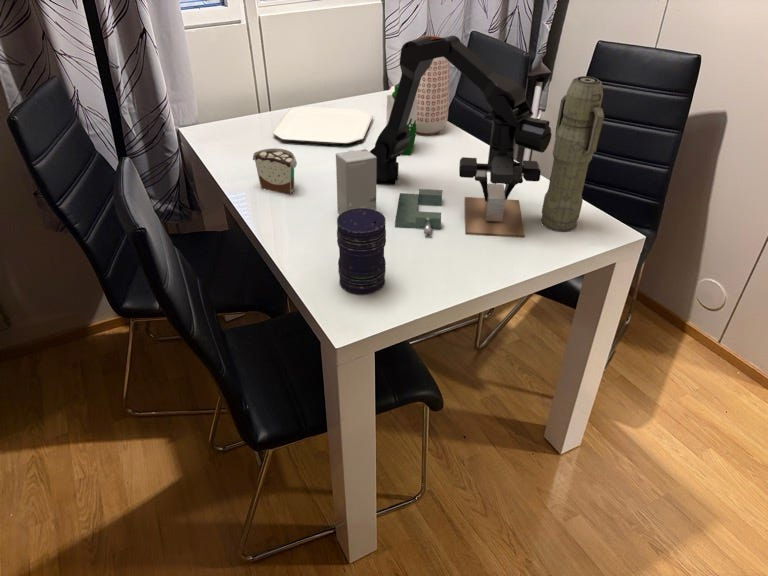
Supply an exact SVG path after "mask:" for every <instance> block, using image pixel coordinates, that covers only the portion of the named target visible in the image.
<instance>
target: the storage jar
mask: <svg viewBox="0 0 768 576" xmlns="http://www.w3.org/2000/svg"><path fill="white" fill-rule="evenodd" d="M386 223H387V222H386V216H385V215H384V214H383V213H382V212H380V211H378V210H377V209H376V210H373V209H367V208H356V209H351V210H347V211H345V212H343V213H341V214H339V215H338V216H337V218H336V225H337V227H336V238H337V239H336V241H337V246H338V250H339V252H338V253H339V257H338V262H337V263H338V264H337V265H338V267H337V268H338V277H339V286H340V287H341V289H342V290H343V291H345V292H347V293H348V294H352V295H358V296H366V295H372V294H375V293H377V292H379V291H381V289H383V288H384V286H385V283H386V282H385V281H386V280H385V279H386V278H385V277H386V268H387V267H386V265H387V263H386V257H385V247H386V243H387V238H386V237H387V229H386Z"/></svg>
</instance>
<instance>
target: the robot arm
mask: <svg viewBox="0 0 768 576" xmlns="http://www.w3.org/2000/svg"><path fill="white" fill-rule="evenodd" d="M427 36H428V35H424V36H420V38H419V37H418V38H414V39H411V40H409V41H407V42H404V43H403V45H402V46H401V50H400V57H399V67H400V72H401V75H400V80H399V82H398V84H399V86H398V89H397V93H396V96H395V100H394V103H393V107H392V110H391V114H390V118H389V121H388V124H387V125H385V127H384V128H383V129H382V131H381V132H380V133H379V135H378V137H377V139H376V141H375V142H374V143H375V144H374V147H373V148H372V149H371V150H369V152H370V153H372V154H373V155H374V156H376V157H377V173H376V185H391V186H393V185H396V183H397V181H398V179H399V172H400V171H399V166H400V165H399V164H400V163H399V162H397V161H398V160H397V159H398V157H401V156H402V155H401V153H402V152H403V151H404V150H405V149H406V148H408V147H409V141H410V139H411V135H410V134H408V133H407V129H406V125H407V122H408V119H409V116H410V112H411V109H412V106H413V103H414V99H415V96H416V93H417V90H418V87H419V83H420V80H421V78H422V76H423V75H424V73H425V72H426V71H427V69H428V68H429V67H430V65H431V63H432V61H433V59H434V58H439V57H444V58H446V59H447V60H448V61H449V62H450V65H452V66H454V68H456V69H457V70H458V71H460V73H462V74H463V75H464V77H466V78H467V79H468V80H469V81H470V82H472V83H473V84H474V86H476V87H477V89H479V90H480V91H481V92H482V94H483V96H484V100H485V102H486V103H487V104H488V106H490V108H491V110H490V111H489V113H488V114H486V115H484V119H485V120H488V121H492V127H491V134H490V140H489V141H490V142H489V150H488V159H487V163H480V162H479V163H478V159H477V157H467V156H466V157H463V156H462V157H461V158H460V159H459V172H458V173H459V175H458V176H459V177H460V178H463V179H464V178H466V179H473V178H474V180H475V181H476V182H479V184H480V185H481V186H480V187H481V188H482V193H483V198H485V201H487V197H488V195H487V184H488V173H490V175H489V176H490V179H489V182H490V184H504V185H505V186H504V191H505V199H506V200H507V199H509V196H510V195H511V192H512V191H513V189H514V188H515V186H517V185H518V184H522V183H524V180H525V181H526V182H540V179H541V173H542V172H541V171H542V170H541V166H540V163H539V162H538V161H537V160H522V161H521V162H517V161H515V159H514V156H515V155H514V154H515V149H516V145H517V147H521V148H524V149H527V150H530V151H531V150H532V151H535V152H538V153H544V152H546V150H547V149H548V147H549V145H550V142H551V140H552V136H553V135H552V129H551V127H550V122H551V121H549V120H546V119H538V118H536V117H535V118H534V117H533V115H534V113H533V111H532V108H531V105H530V104H529V102H528V99H527V95H526V90H525V88H524V86H522V85H521V84H519V83H518V82H516V81H515V80H514V79H512V78H509V77H507V76H503V75H501V74H499V73H497V72H496V71H495V70H493V68H491V67H490V66H489V65H488V64H486V63H485V62H484V61H483V60H482V59H481V58H480V57H478V55H476V54H475V53H474V52H473V51H472V50H471V49H469V48H468V47H467V46H466V45H465V44H464V43H463V42H461V40H460V38H459V37H458V36H456V35H454V34H453V35H448V36H445V37H444V36H443V37H442V38H437V39H430V38H429V37H427ZM517 110H519V111H518V112H517V113H515V111H517Z"/></svg>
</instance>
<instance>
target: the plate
mask: <svg viewBox="0 0 768 576" xmlns="http://www.w3.org/2000/svg"><path fill="white" fill-rule="evenodd" d="M373 117H374V116H373V114H372V113H369V112H367V111H365V110H363V109H353V108H339V107H338V108H335V107H322V106H321V107H319V106H318V107H317V106H302V107H297V108H293V109H291V110H290V109H289V111H288V112H287V113H286V115H285V116H284V117H283V118H282V120H280V122H279V123H278V125H277V126H276V128H275V129H274V131H273V132H272V135H274V136H276V137H277V138H278V139H279V140H281V141H287V142H291V141H295V143H307V142H311V144H323V143H327V145H339V144H343V145H348V144H353V143H356V142H359V141H363V140H364V138H365V136H366V134H367V131H368V129H369V127H370V124H371V123H372V120H373Z"/></svg>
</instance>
